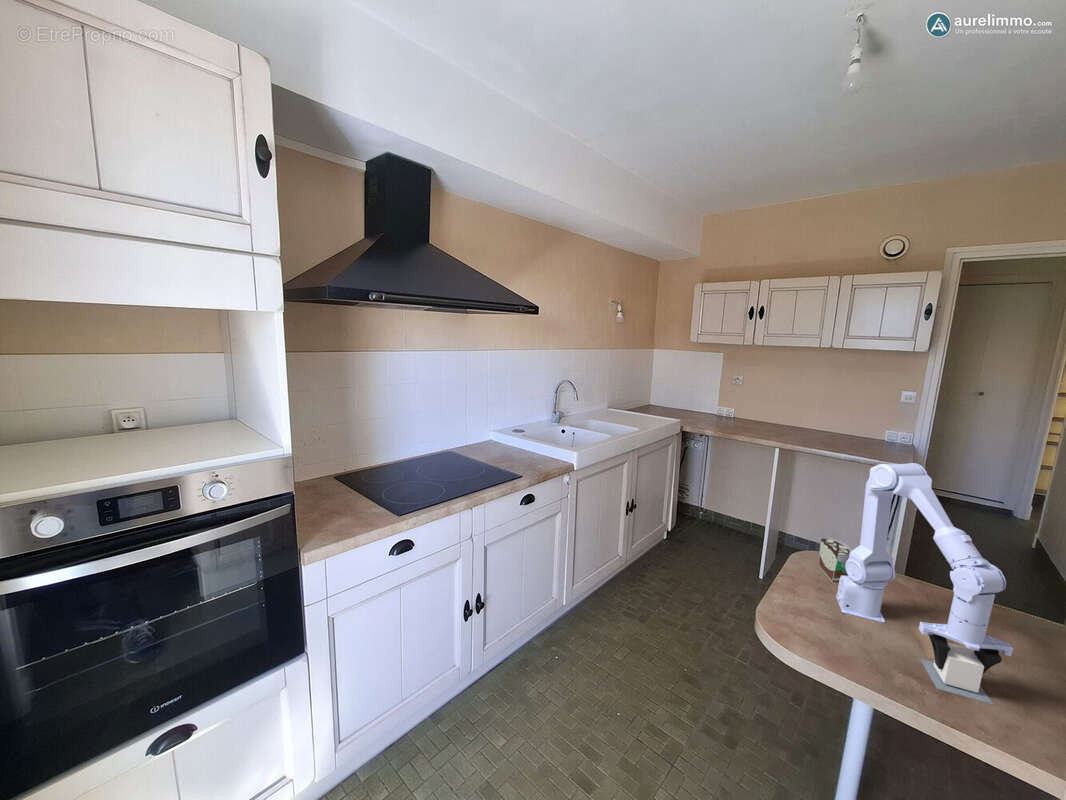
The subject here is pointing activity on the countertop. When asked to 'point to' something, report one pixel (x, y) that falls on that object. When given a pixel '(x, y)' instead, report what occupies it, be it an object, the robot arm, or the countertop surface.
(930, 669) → the mat
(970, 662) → the matte white cube
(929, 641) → the board
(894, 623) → the countertop surface
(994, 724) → the countertop surface
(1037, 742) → the countertop surface
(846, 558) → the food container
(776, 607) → the countertop surface
